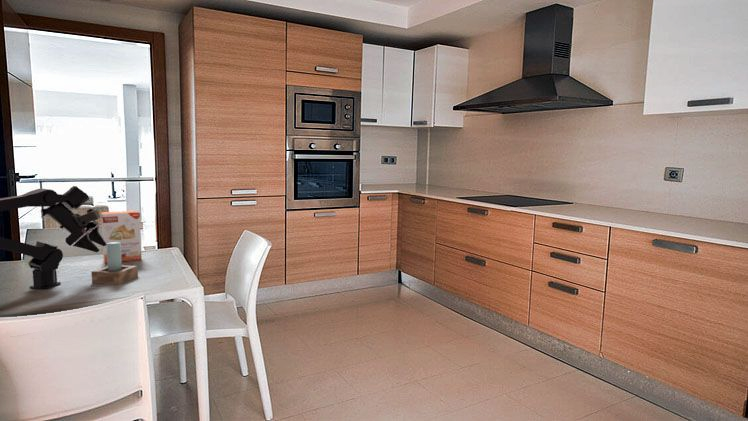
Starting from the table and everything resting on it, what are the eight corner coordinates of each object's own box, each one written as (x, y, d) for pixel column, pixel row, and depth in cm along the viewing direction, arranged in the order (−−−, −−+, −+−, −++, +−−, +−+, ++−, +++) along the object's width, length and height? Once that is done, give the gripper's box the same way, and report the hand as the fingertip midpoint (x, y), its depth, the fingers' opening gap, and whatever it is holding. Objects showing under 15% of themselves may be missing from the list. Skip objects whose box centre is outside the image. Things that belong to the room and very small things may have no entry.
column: (116, 278, 167) (115, 244, 165) (105, 278, 168) (103, 244, 166) (124, 275, 171) (123, 242, 170) (113, 274, 172) (112, 241, 170)
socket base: (119, 284, 164) (118, 273, 163) (92, 282, 165) (91, 271, 165) (137, 276, 174) (137, 265, 174) (112, 274, 175) (111, 264, 175)
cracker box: (104, 264, 191) (101, 213, 188) (103, 260, 196) (100, 212, 193) (142, 260, 199) (140, 211, 196) (140, 257, 204) (138, 210, 201)
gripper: (74, 206, 154) (112, 238, 159) (91, 198, 172) (125, 227, 177) (48, 229, 153) (87, 261, 158) (68, 219, 171) (102, 248, 176)
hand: (102, 248), depth 167 cm, fingers open, 9 cm apart
